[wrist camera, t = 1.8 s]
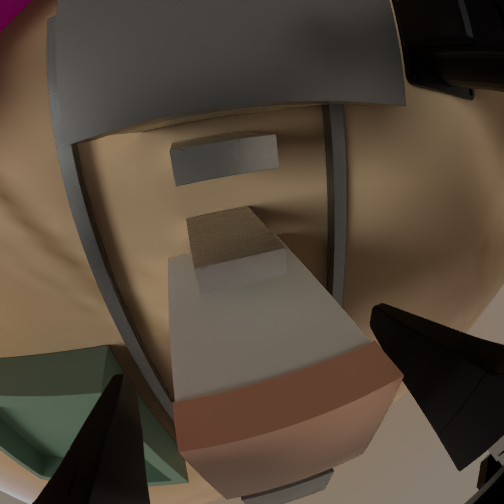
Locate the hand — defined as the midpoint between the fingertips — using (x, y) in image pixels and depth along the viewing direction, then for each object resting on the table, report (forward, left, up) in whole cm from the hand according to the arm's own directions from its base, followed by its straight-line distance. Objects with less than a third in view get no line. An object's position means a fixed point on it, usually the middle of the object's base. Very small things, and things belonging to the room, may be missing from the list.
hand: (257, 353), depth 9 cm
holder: (0, 0, -4) cm, 4 cm away
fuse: (0, 0, -4) cm, 4 cm away
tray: (+14, +8, -4) cm, 17 cm away
